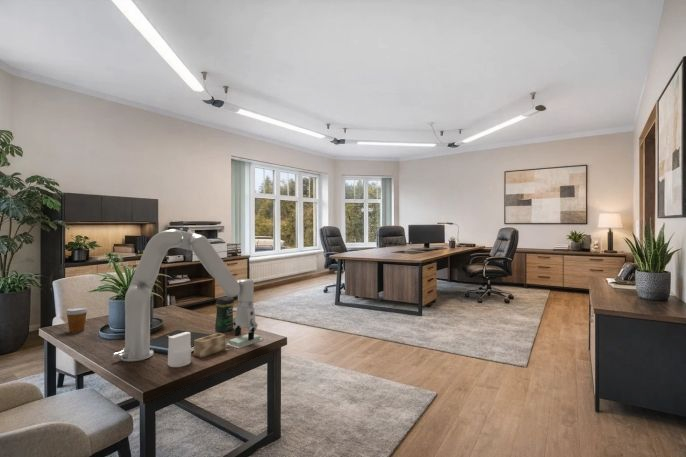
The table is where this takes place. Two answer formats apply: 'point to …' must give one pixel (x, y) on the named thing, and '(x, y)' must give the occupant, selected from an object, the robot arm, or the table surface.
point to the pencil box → (209, 345)
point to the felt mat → (245, 344)
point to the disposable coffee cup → (76, 318)
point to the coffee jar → (224, 314)
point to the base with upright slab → (179, 350)
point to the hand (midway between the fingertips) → (244, 337)
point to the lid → (243, 340)
